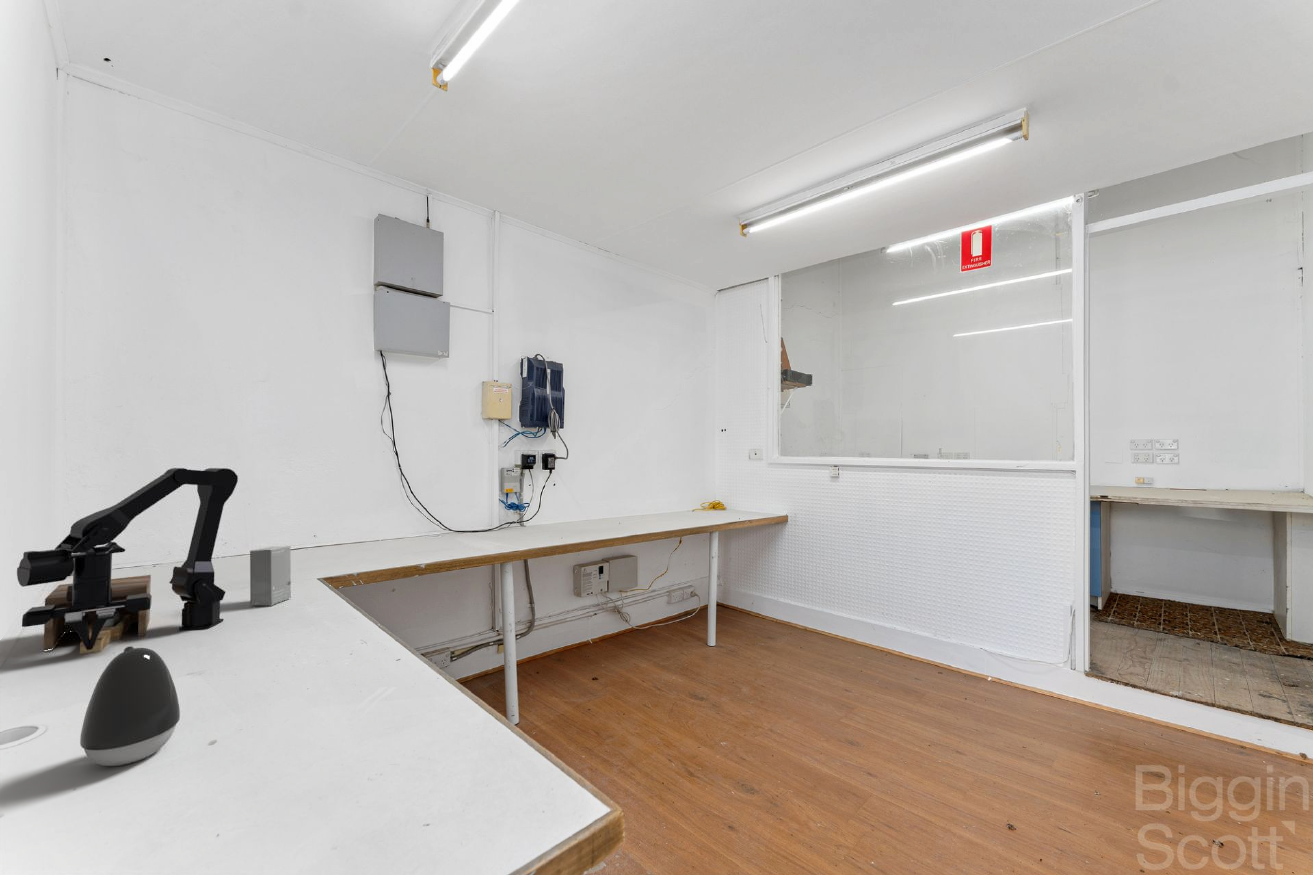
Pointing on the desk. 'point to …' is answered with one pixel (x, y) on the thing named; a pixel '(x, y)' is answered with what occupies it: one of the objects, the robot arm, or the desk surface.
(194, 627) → the robot arm
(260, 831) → the desk surface
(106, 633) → the tray
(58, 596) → the wooden drawer organizer
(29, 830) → the desk surface
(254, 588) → the skincare box
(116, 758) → the dark grey egg dome
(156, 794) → the desk surface
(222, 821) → the desk surface
